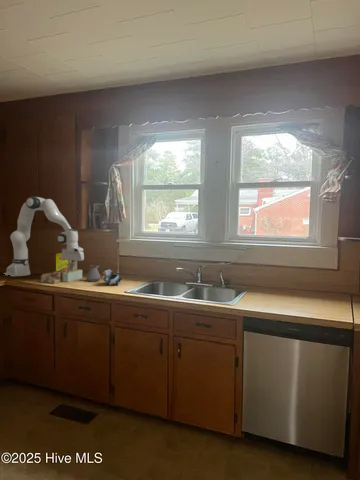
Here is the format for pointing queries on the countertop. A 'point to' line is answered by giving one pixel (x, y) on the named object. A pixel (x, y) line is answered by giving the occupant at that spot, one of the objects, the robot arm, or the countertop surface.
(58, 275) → the offcut top
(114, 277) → the blue-grey irregular lump
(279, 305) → the countertop surface
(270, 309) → the countertop surface
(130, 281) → the countertop surface
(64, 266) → the food package
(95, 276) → the coffee pot
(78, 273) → the slot stand
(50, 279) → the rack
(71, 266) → the birch sheet
